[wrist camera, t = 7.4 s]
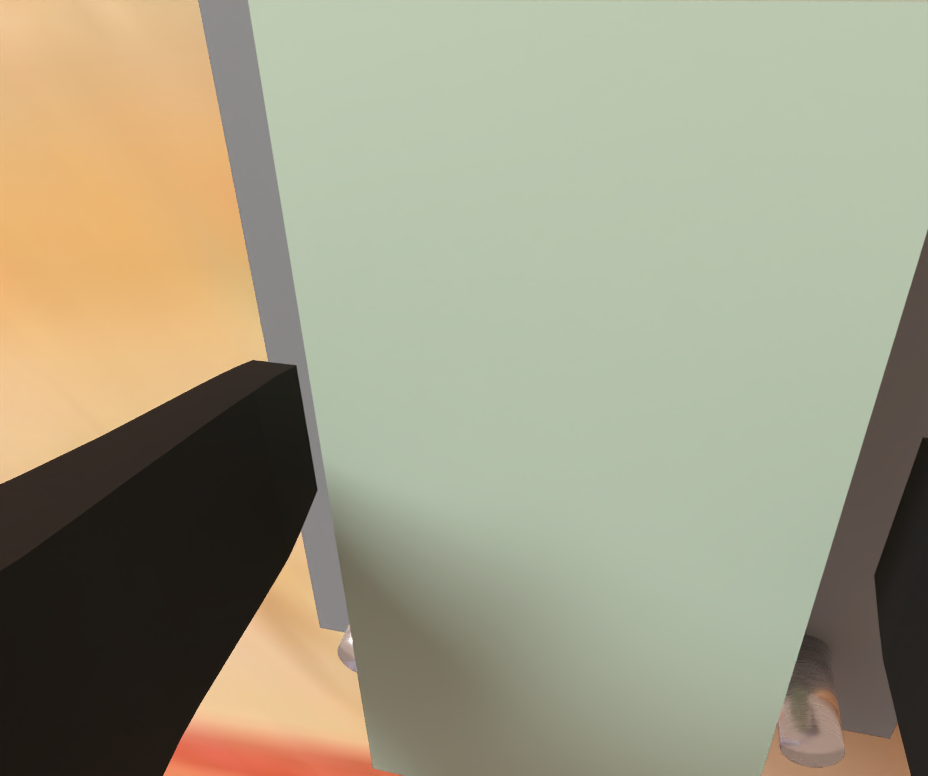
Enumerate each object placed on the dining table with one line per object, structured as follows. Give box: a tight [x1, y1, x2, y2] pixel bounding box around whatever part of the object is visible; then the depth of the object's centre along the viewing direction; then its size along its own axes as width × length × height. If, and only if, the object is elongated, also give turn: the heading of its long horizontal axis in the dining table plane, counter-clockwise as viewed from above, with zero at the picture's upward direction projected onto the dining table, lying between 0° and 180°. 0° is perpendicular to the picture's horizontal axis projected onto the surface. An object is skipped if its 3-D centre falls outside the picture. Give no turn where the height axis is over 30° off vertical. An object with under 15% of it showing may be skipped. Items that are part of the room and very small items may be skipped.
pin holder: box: [198, 0, 928, 767], centre depth 12 cm, size 17×12×3 cm
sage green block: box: [248, 0, 928, 776], centre depth 10 cm, size 10×5×5 cm, turn 2°
